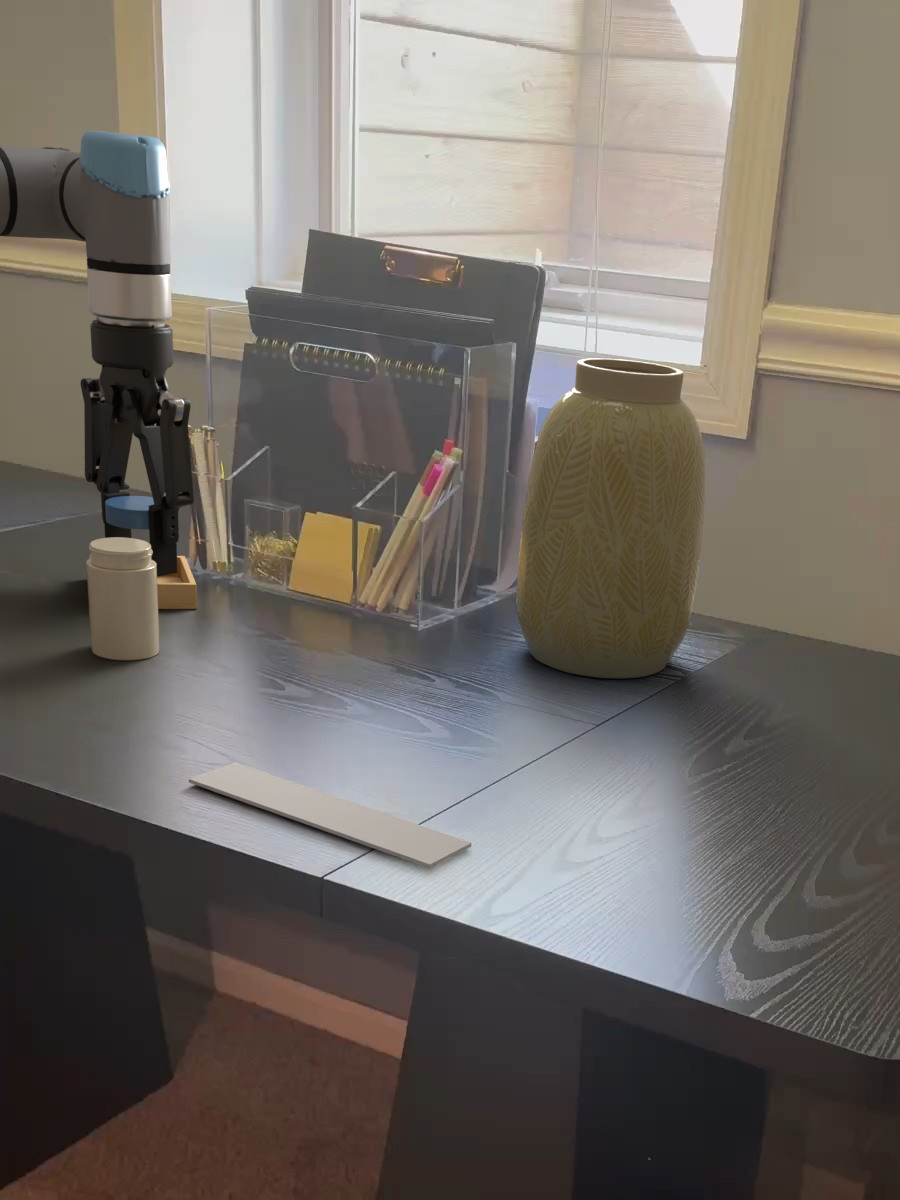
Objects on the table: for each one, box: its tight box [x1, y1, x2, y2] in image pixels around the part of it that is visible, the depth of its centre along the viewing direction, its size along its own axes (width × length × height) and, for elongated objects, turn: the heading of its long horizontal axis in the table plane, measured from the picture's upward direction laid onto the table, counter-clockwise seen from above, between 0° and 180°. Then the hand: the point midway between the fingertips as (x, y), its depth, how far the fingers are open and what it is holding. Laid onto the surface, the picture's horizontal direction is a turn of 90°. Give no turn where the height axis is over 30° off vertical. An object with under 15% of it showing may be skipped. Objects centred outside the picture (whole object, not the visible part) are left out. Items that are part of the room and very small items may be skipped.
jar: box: [85, 537, 161, 661], centre depth 131 cm, size 6×6×10 cm
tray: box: [89, 554, 198, 610], centre depth 149 cm, size 11×10×2 cm
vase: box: [515, 358, 706, 680], centre depth 138 cm, size 17×17×27 cm
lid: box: [105, 495, 154, 530], centre depth 146 cm, size 7×6×2 cm
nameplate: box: [188, 761, 472, 869], centre depth 105 cm, size 22×1×5 cm
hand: (141, 565), depth 149 cm, fingers closed on lid, 6 cm apart
